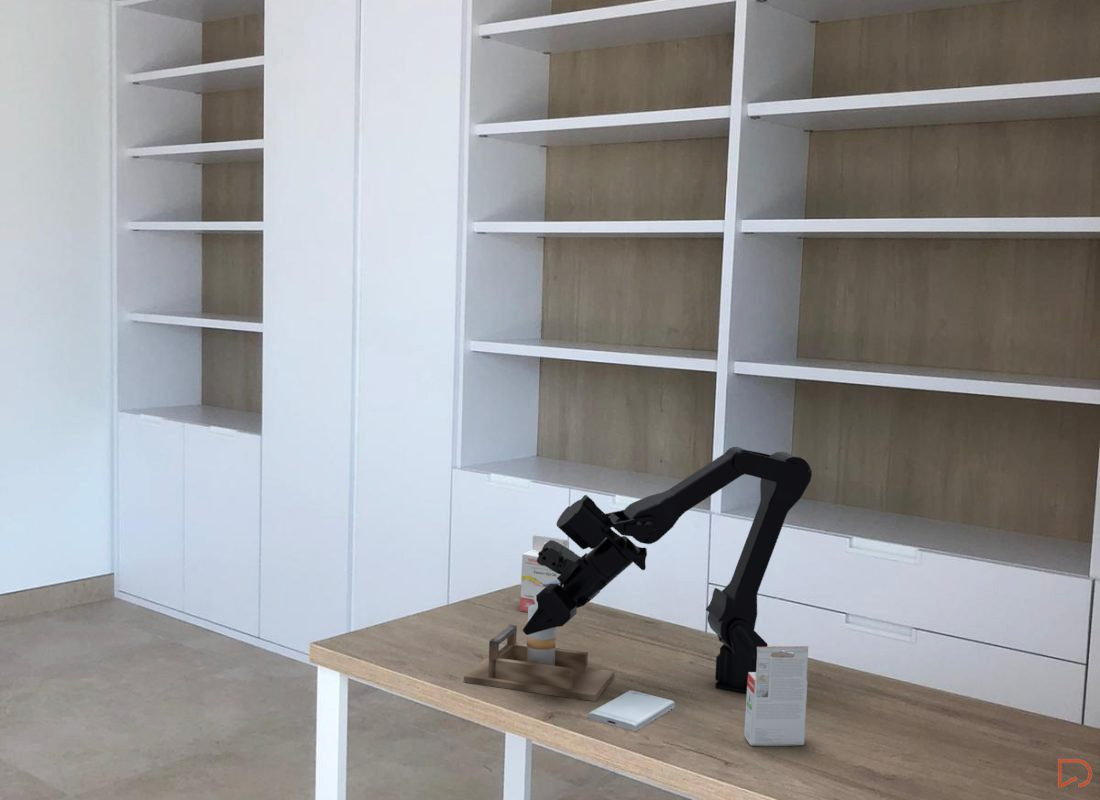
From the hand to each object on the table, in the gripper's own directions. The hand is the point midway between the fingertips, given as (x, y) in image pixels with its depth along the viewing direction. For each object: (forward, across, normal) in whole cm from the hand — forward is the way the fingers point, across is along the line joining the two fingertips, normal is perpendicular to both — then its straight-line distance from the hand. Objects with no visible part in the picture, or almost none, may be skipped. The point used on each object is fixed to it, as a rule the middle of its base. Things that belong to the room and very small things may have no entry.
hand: (533, 624), depth 185 cm
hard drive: (-6, +8, +20) cm, 23 cm away
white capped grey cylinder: (+5, 0, +7) cm, 8 cm away
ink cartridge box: (+14, -38, -1) cm, 41 cm away
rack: (+5, 0, +7) cm, 9 cm away
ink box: (-22, +11, +35) cm, 43 cm away
